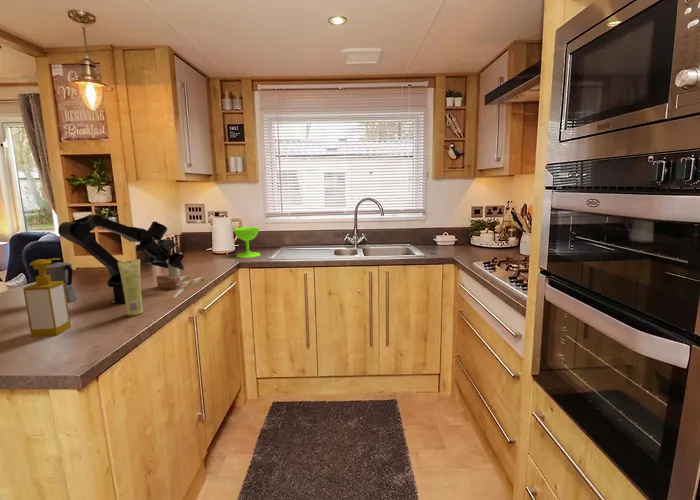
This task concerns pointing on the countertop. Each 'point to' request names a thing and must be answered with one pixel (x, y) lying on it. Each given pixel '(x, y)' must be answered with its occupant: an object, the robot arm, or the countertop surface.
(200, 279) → the brown piece
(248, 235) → the wineglass
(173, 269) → the keeper post
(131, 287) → the tube
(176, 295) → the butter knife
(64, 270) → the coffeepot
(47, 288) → the soap bottle
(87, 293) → the countertop surface
